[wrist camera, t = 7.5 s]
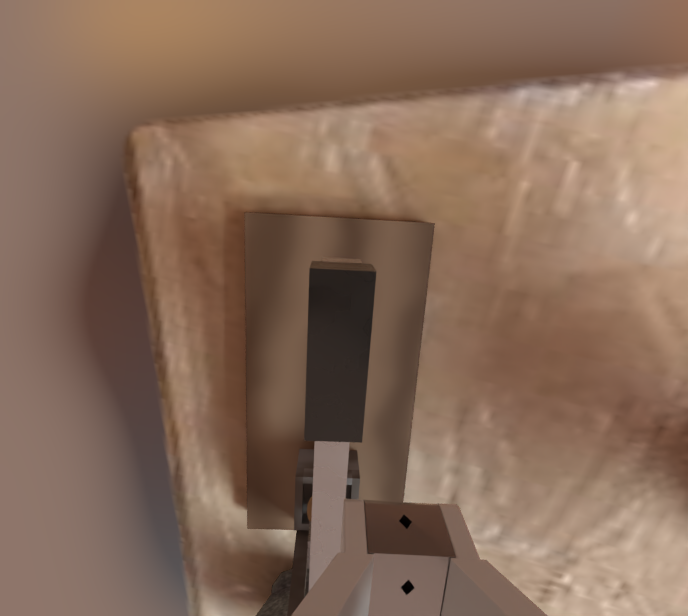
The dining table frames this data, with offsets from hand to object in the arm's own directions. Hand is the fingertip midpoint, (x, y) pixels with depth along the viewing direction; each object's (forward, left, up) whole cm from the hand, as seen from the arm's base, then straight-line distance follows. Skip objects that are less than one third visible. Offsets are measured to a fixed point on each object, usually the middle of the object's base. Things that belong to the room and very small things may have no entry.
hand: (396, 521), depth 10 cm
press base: (+2, +7, -22) cm, 23 cm away
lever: (+2, +6, -13) cm, 15 cm away
